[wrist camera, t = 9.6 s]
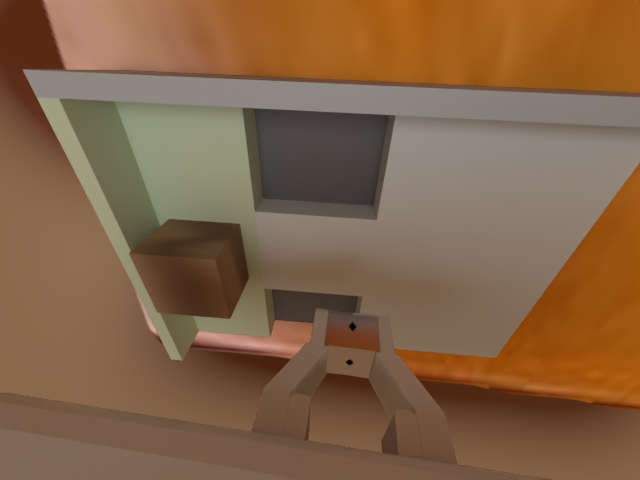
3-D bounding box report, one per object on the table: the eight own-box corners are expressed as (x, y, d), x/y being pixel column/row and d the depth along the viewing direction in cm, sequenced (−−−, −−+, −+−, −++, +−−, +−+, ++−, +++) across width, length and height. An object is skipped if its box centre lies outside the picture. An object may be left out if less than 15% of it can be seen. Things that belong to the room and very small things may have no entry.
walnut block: (239, 223, 17) (215, 259, 14) (248, 278, 20) (230, 319, 17) (169, 218, 18) (128, 253, 14) (187, 273, 20) (157, 312, 17)
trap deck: (636, 93, 14) (781, 103, 9) (483, 334, 25) (513, 392, 21) (120, 70, 15) (22, 69, 10) (200, 309, 27) (171, 359, 22)
